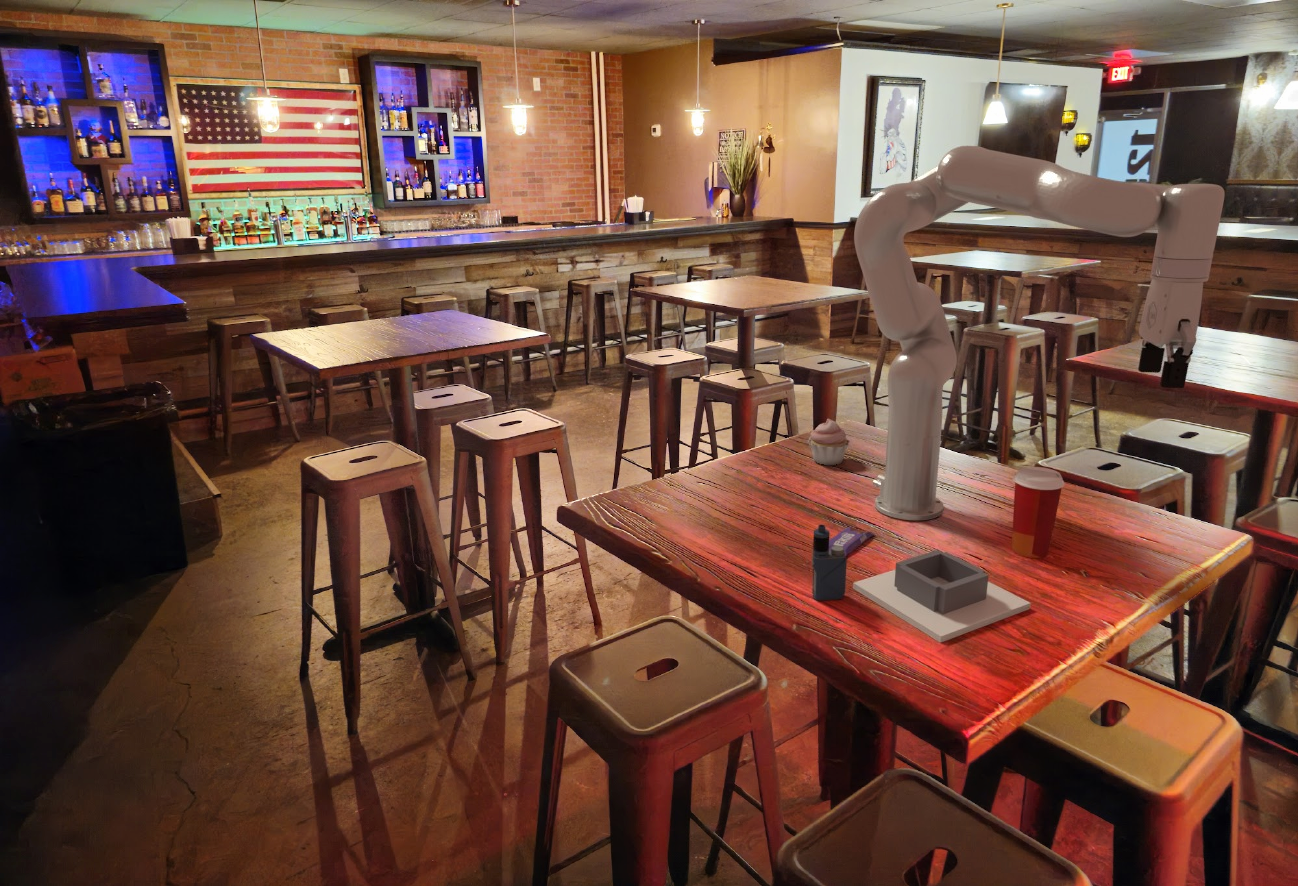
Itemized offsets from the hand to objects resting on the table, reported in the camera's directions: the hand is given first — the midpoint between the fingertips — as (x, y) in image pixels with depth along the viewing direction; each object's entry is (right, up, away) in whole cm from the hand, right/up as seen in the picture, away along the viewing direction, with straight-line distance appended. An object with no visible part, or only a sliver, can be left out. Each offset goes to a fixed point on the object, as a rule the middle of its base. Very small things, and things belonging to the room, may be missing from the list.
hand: (1159, 379), depth 130 cm
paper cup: (-16, -28, +10) cm, 34 cm away
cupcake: (-41, -14, +54) cm, 69 cm away
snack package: (-46, -28, +15) cm, 56 cm away
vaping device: (-53, -34, -3) cm, 63 cm away
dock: (-37, -34, -5) cm, 50 cm away
